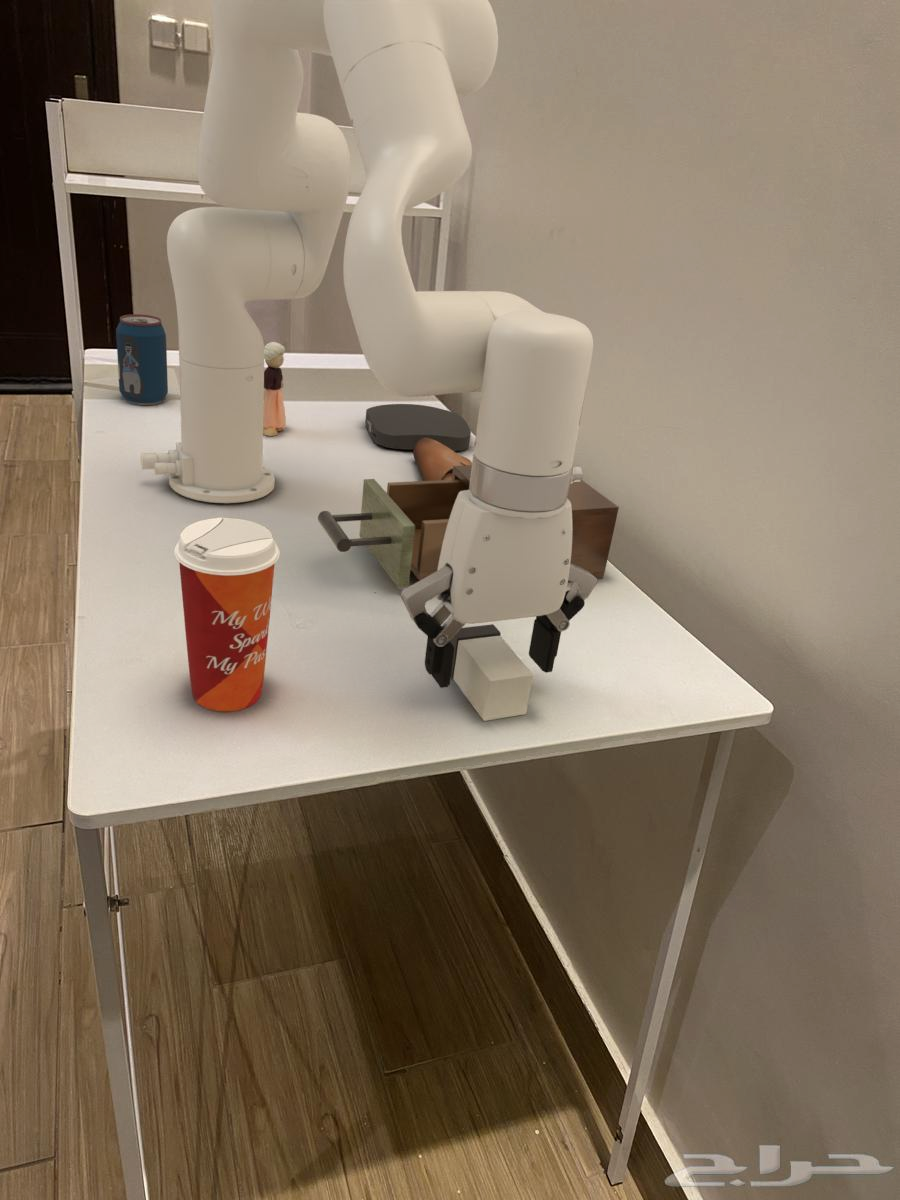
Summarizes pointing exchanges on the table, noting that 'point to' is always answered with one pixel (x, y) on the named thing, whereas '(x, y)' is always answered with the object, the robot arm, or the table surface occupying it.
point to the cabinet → (580, 523)
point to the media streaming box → (416, 426)
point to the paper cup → (226, 608)
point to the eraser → (490, 673)
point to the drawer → (400, 525)
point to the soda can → (142, 359)
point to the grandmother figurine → (273, 390)
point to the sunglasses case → (436, 460)
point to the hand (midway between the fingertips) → (490, 671)
